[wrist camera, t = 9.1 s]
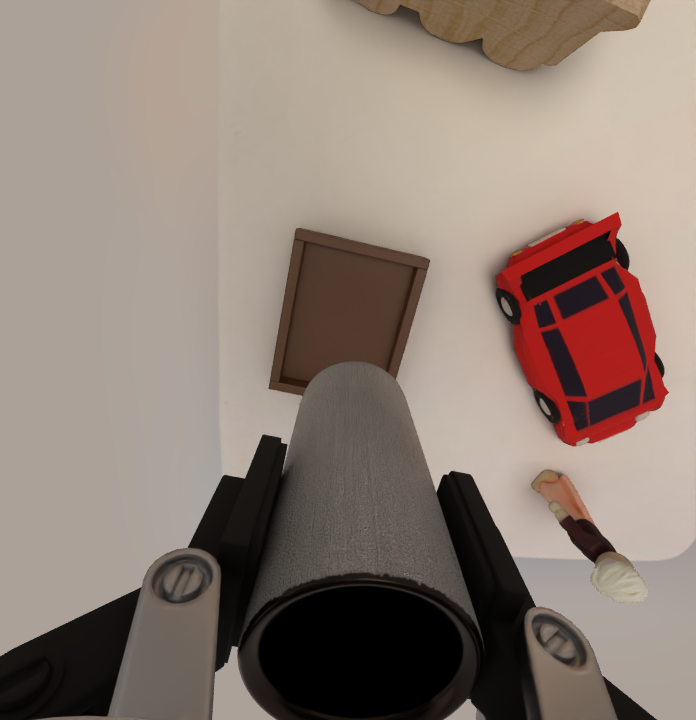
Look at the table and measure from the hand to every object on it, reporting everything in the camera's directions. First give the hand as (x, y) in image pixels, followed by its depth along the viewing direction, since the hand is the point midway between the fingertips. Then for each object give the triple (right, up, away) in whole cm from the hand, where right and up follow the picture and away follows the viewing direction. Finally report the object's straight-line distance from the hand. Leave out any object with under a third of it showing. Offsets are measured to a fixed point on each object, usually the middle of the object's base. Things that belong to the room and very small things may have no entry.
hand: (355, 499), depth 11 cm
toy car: (+20, +6, +23) cm, 31 cm away
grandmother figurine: (+20, -9, +29) cm, 36 cm away
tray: (-1, +7, +23) cm, 24 cm away
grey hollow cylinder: (0, +2, +6) cm, 6 cm away
